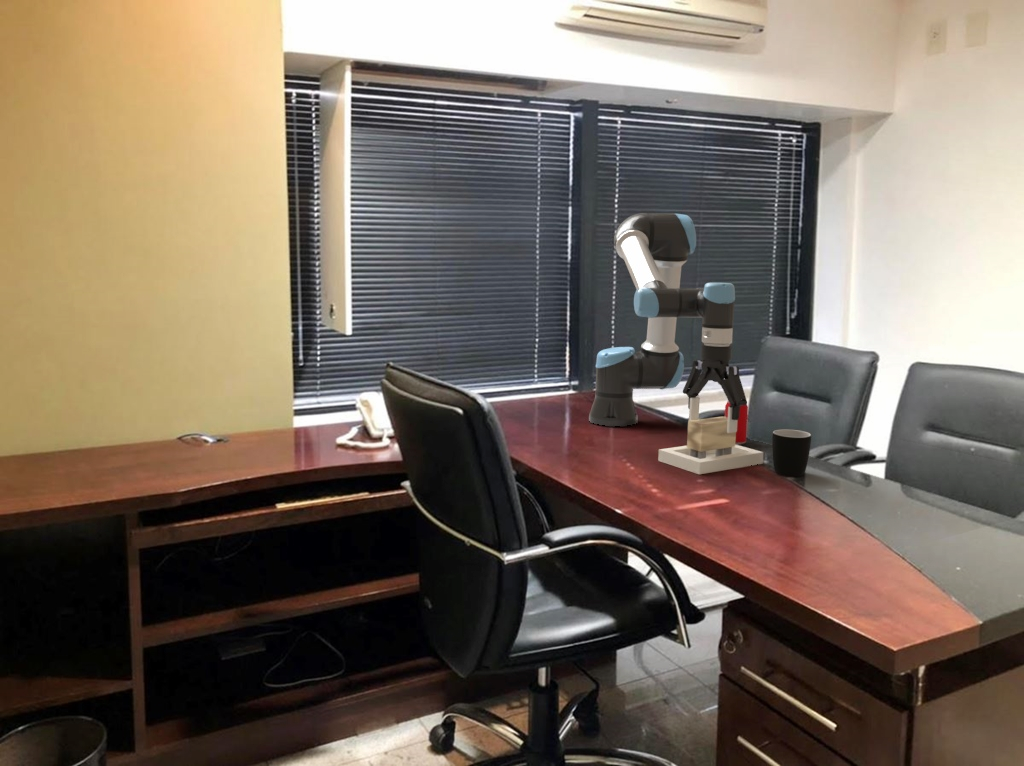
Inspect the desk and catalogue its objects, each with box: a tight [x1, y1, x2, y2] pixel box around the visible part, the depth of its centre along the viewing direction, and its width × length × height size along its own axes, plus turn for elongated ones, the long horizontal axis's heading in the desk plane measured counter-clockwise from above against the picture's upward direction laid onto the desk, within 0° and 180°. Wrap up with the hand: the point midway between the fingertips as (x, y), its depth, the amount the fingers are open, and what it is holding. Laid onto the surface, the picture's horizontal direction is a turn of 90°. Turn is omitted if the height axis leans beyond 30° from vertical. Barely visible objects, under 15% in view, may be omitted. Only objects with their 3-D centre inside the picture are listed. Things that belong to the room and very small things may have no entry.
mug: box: [771, 428, 812, 478], centre depth 210 cm, size 12×9×10 cm
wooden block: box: [686, 416, 736, 452], centre depth 218 cm, size 5×12×7 cm, turn 121°
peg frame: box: [657, 445, 764, 475], centre depth 219 cm, size 15×22×4 cm
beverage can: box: [724, 400, 749, 446], centre depth 240 cm, size 6×6×12 cm
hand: (712, 427), depth 218 cm, fingers open, 13 cm apart
